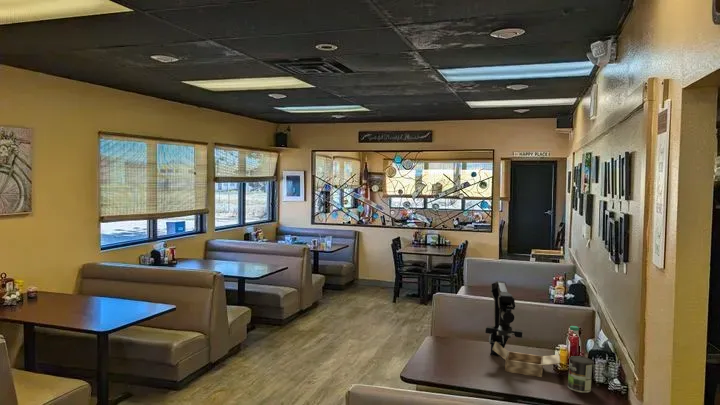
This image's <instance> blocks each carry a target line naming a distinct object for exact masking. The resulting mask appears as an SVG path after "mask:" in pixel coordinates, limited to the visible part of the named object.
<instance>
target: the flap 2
mask: <svg viewBox="0 0 720 405" xmlns="http://www.w3.org/2000/svg"><path fill="white" fill-rule="evenodd" d="M542 356H543V366H550V365H551V366H552V365H560V362H561V361H560V354H551V355H542Z"/></svg>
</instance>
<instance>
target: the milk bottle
mask: <svg viewBox="0 0 720 405" xmlns="http://www.w3.org/2000/svg"><path fill="white" fill-rule="evenodd" d="M570 330H573V332H574V333H576V334H577V335H578V337H579V346H580V352H581V350H582V341H581V337H580V335H579V330H580V327H578V326H576V325H570V326H569V331H570ZM568 336H569V334H568ZM568 336H567V337H566V341H565V345H566V344H567V343H568ZM581 353H582V352H581Z"/></svg>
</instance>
